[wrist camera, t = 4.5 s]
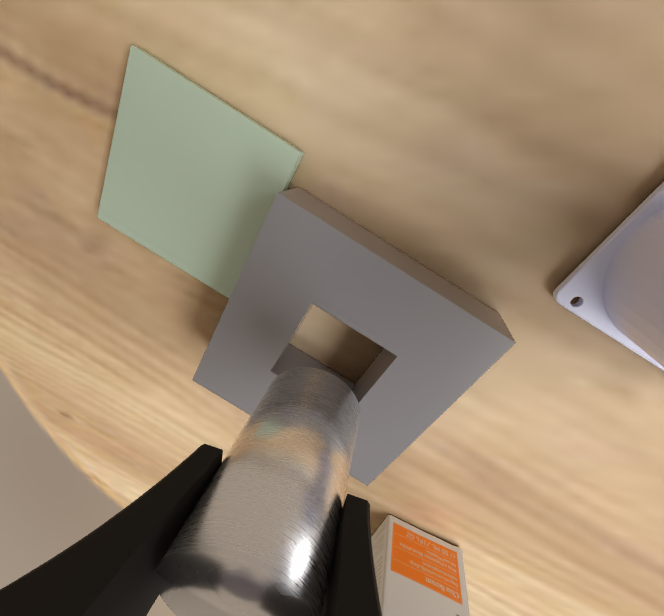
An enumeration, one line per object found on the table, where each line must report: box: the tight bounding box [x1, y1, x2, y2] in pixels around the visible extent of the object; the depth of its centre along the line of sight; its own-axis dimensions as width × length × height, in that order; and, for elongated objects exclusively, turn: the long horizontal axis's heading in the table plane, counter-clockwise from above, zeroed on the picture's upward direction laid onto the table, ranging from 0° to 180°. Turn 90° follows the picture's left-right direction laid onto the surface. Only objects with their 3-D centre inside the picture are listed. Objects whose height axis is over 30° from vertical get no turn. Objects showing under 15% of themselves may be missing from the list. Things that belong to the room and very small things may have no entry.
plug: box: [155, 367, 360, 616], centre depth 11 cm, size 4×4×7 cm
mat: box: [97, 45, 304, 299], centre depth 18 cm, size 9×9×1 cm
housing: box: [193, 187, 516, 486], centre depth 18 cm, size 12×12×3 cm
